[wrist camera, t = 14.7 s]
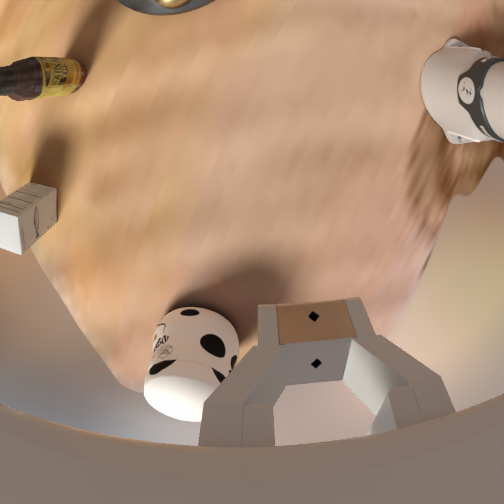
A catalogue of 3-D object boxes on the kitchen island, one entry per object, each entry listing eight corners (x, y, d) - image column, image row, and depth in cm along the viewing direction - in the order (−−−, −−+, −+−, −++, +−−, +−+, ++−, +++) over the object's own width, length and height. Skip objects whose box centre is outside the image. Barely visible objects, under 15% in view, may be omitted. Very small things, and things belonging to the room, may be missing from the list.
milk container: (144, 307, 60) (118, 376, 45) (223, 290, 58) (214, 366, 42) (179, 361, 69) (166, 425, 53) (250, 350, 66) (248, 420, 51)
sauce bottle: (92, 81, 38) (9, 92, 21) (64, 101, 39) (-20, 124, 22) (79, 49, 35) (-5, 48, 18) (52, 70, 36) (-33, 81, 19)
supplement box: (58, 222, 50) (22, 257, 40) (30, 214, 49) (-7, 246, 39) (58, 187, 47) (17, 217, 36) (29, 180, 46) (-12, 207, 35)
